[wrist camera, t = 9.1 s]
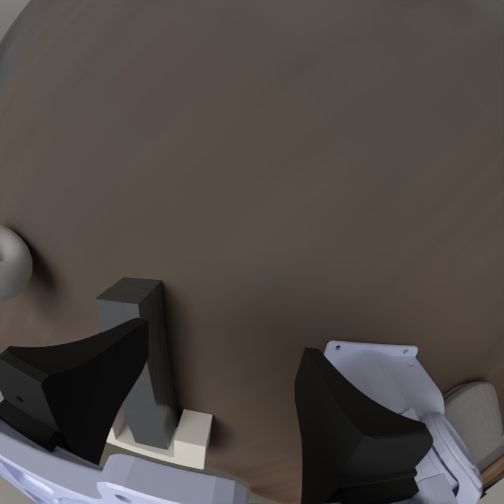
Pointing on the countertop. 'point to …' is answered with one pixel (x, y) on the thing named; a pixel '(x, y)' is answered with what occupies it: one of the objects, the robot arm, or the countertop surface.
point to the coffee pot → (478, 425)
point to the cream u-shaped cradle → (182, 444)
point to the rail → (158, 364)
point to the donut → (13, 264)
